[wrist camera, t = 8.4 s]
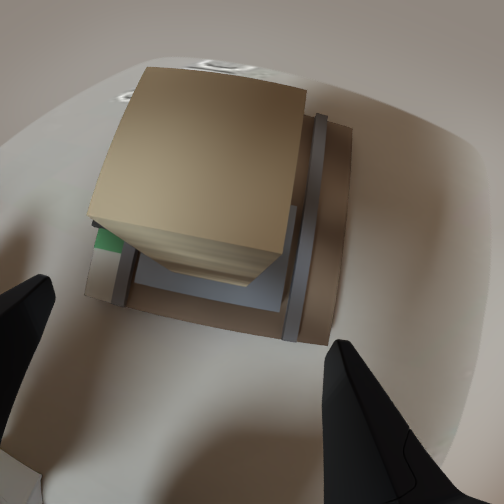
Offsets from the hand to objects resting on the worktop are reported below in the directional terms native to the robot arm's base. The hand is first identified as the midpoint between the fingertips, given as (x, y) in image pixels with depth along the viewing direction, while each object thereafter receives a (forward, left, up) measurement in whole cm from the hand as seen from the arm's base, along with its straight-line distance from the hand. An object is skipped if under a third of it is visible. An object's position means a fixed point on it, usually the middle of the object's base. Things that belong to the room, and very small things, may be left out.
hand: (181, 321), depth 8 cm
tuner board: (+7, +3, -10) cm, 13 cm away
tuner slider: (+3, +3, -8) cm, 9 cm away
